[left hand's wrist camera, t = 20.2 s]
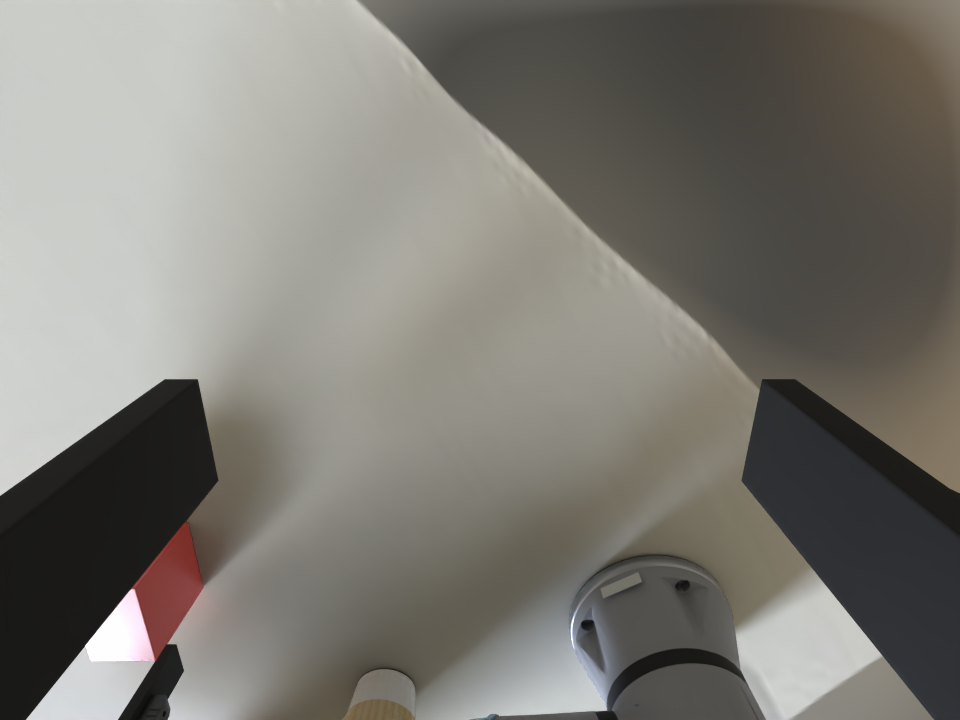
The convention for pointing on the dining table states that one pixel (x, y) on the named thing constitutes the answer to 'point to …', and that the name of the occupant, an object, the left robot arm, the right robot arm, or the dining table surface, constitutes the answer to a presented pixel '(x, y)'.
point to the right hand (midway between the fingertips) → (83, 656)
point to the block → (151, 606)
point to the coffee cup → (383, 697)
